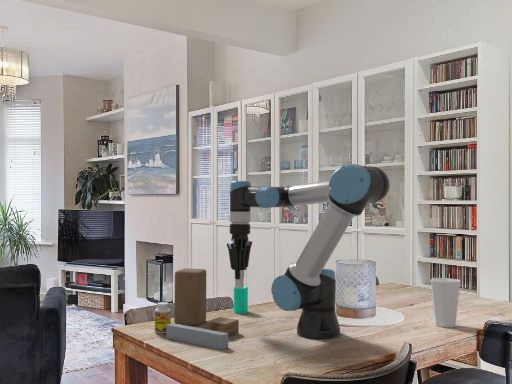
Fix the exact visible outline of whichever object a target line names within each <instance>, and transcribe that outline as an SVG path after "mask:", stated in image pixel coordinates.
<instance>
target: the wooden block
mask: <svg viewBox="0 0 512 384" xmlns="http://www.w3.org/2000/svg"><path fill="white" fill-rule="evenodd" d="M173 303H174V307H173V308H174V310H173V311H174V318H173V319H174V321H173V323H174V324H180V325H185V326H196V325H197V326H199V325H201V324H202V323H204V322H205V321H206V319H207V270H206V269H205V268H182V269H180V270H177V271H175V272H174V302H173Z"/></svg>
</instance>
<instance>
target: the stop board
mask: <svg viewBox="0 0 512 384" xmlns="http://www.w3.org/2000/svg"><path fill="white" fill-rule="evenodd" d="M165 334H166V335H165V336H166V338H165V339H167V338H168V340H172V339H173V341H176V342H177V341H178V342H183V343H187V344H188V343H189V344H193V345H197V346H203V347H208V348H213V349H217V350H225V349H228V348H229V337H228V333H224V332H218V331H213V330H207V328H206V329H205V328H202V327H196V326H195V327H194V326H191V325H179V324H175V322H173V323H171V324H168V325H166V333H165Z"/></svg>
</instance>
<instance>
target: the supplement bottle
mask: <svg viewBox="0 0 512 384" xmlns="http://www.w3.org/2000/svg"><path fill="white" fill-rule="evenodd" d="M156 306H157V307H156V308H155V310H154V332H155V333H156V334H161V335H164V333H165V334H166V325H168V324H172V323H171V322H172V321H171V319H172V309H171V308H170V306H169V302H164V301H163V302H161V301H160V302H157V305H156Z"/></svg>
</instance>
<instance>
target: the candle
mask: <svg viewBox="0 0 512 384" xmlns="http://www.w3.org/2000/svg"><path fill="white" fill-rule="evenodd" d="M248 302H249V287H248V285H244V288H242V289H240V288H235V286H233V307H232V308H233V311H232V312H233V313H235V314H246V313H247V314H248V312H249V311H248V308H249V307H248V306H249V303H248Z"/></svg>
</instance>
